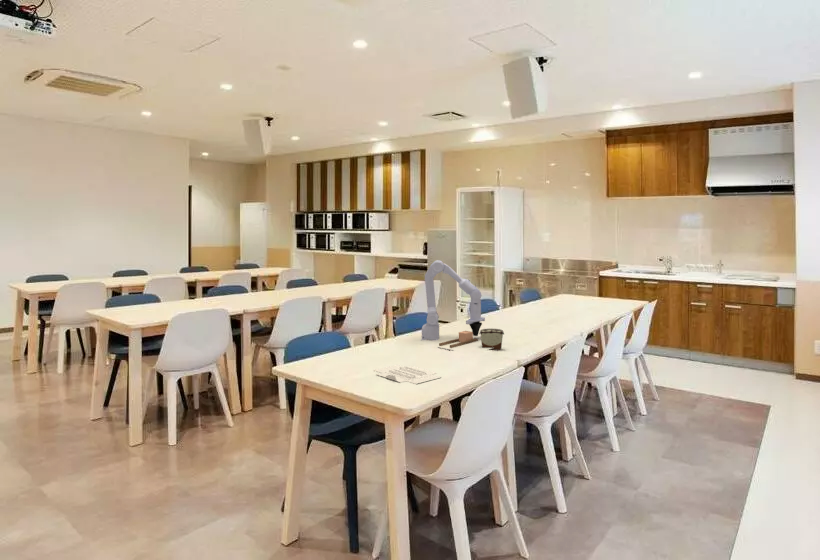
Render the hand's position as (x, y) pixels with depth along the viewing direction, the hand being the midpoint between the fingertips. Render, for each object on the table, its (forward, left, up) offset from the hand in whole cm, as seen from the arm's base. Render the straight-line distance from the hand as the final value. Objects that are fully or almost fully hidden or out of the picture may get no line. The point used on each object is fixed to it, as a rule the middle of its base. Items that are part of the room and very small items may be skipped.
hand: (475, 335), depth 289 cm
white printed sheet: (+18, -72, -4) cm, 75 cm away
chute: (0, -15, -3) cm, 15 cm away
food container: (+17, -10, -3) cm, 20 cm away
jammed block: (0, -9, -2) cm, 9 cm away
